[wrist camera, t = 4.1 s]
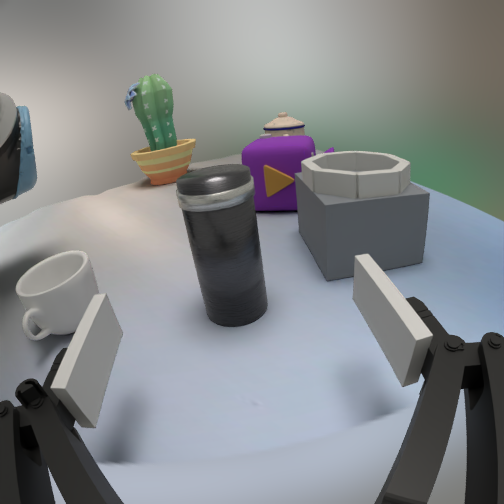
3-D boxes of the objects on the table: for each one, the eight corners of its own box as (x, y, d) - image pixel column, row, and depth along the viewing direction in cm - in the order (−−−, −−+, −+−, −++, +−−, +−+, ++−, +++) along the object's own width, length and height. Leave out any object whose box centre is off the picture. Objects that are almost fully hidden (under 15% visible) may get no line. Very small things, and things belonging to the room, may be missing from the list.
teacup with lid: (267, 161, 75) (261, 113, 70) (305, 157, 74) (301, 110, 69) (267, 173, 64) (261, 116, 59) (312, 169, 63) (307, 112, 58)
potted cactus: (153, 174, 80) (136, 83, 69) (209, 167, 77) (194, 69, 66) (126, 193, 66) (104, 84, 55) (190, 184, 64) (171, 65, 53)
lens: (204, 332, 24) (168, 191, 19) (205, 293, 28) (178, 171, 23) (273, 321, 24) (256, 176, 19) (265, 284, 29) (248, 160, 24)
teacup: (61, 297, 30) (43, 254, 28) (119, 295, 30) (101, 246, 27) (16, 360, 22) (-13, 311, 19) (79, 367, 21) (48, 312, 19)
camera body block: (326, 281, 28) (324, 180, 24) (299, 231, 37) (293, 155, 33) (422, 262, 28) (430, 171, 24) (376, 220, 38) (376, 148, 34)
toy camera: (349, 211, 41) (346, 136, 37) (247, 219, 43) (236, 145, 38) (334, 188, 51) (331, 127, 46) (251, 194, 52) (243, 134, 48)
